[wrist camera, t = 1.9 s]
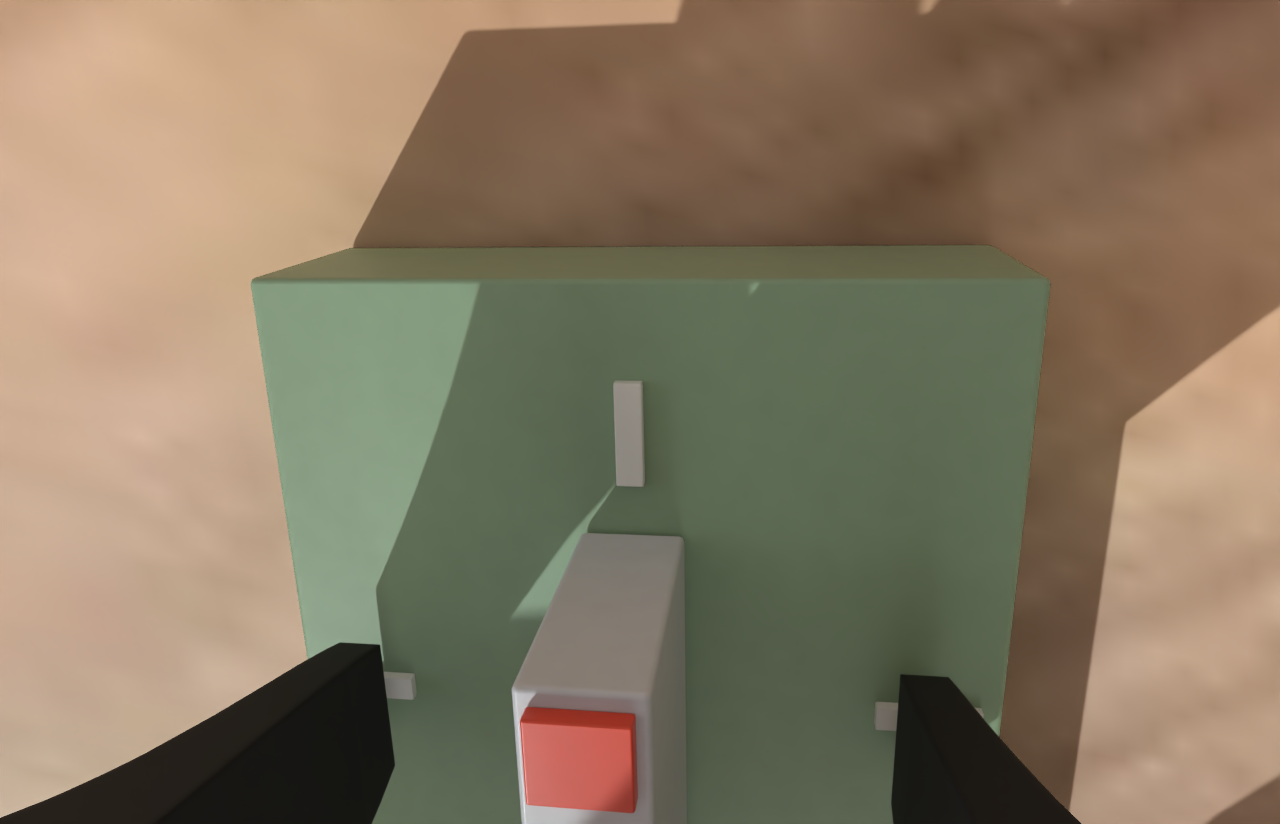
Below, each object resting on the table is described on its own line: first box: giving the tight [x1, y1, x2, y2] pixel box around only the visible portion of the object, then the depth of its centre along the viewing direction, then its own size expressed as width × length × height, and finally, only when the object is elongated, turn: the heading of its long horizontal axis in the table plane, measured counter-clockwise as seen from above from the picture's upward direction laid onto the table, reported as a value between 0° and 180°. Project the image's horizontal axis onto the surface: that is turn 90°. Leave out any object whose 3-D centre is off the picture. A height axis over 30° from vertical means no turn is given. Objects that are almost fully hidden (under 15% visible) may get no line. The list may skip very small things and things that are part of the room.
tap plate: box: [251, 245, 1051, 824], centre depth 15 cm, size 14×10×3 cm
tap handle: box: [512, 533, 687, 824], centre depth 11 cm, size 5×1×4 cm, turn 1°
